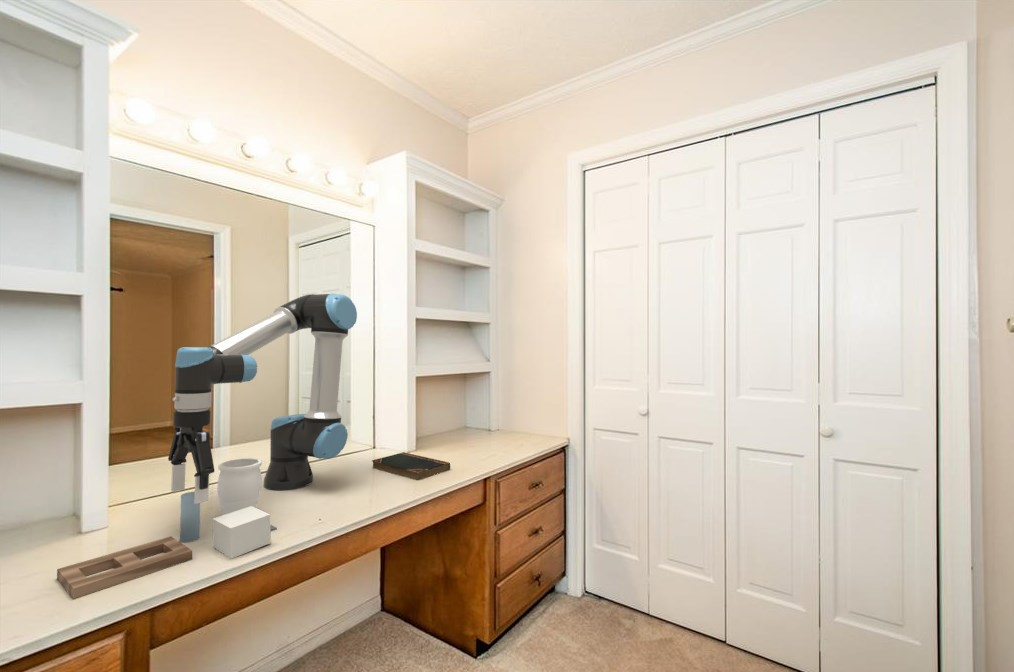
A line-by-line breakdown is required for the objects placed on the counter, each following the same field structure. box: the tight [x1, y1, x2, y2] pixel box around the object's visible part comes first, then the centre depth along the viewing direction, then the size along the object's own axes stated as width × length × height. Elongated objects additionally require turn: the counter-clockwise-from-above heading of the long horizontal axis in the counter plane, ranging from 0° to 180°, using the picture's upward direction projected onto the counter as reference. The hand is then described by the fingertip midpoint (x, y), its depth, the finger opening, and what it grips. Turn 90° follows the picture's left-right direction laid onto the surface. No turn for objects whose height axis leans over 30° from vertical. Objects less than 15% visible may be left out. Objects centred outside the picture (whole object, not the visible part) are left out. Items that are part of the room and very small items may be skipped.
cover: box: [212, 506, 272, 559], centre depth 112 cm, size 9×9×7 cm
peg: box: [179, 491, 201, 543], centre depth 115 cm, size 4×4×11 cm
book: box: [371, 451, 451, 481], centre depth 179 cm, size 17×4×25 cm
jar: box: [217, 457, 263, 515], centre depth 129 cm, size 11×10×15 cm
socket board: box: [56, 535, 193, 600], centre depth 100 cm, size 12×20×2 cm, turn 145°
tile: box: [270, 524, 278, 532], centre depth 121 cm, size 6×6×1 cm
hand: (189, 496), depth 115 cm, fingers open, 13 cm apart
